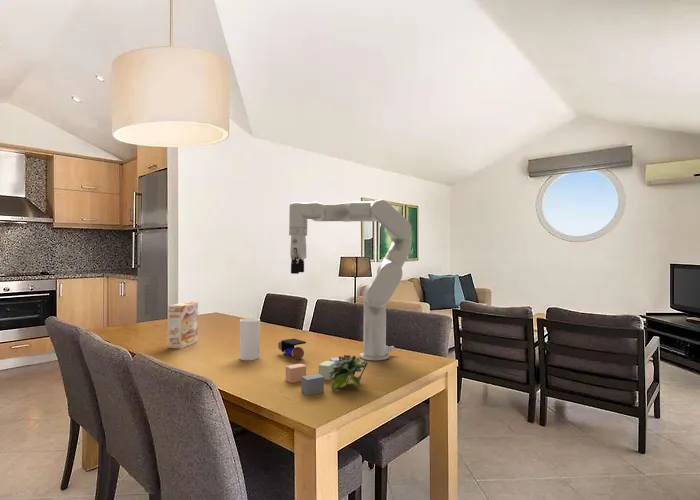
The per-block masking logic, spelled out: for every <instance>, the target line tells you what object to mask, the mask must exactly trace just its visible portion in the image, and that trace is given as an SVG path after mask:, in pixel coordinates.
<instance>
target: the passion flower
mask: <svg viewBox="0 0 700 500" xmlns="http://www.w3.org/2000/svg"><path fill="white" fill-rule="evenodd" d="M338 357H339V361H340V362H338V364H336V366H334V367H333V371H331V372H329V374H331V375H330V378H331V377H332V376H333V375H335V376H334V377H333V378H331V379H333V382H331V386H330V387H331V391H334V390H336V389H337V388H339V389H342V388H344V387H345V386H347V385H348V384H349V383H350V382H351V381H352V382H353V383H354V384H355V385H356V386H357V388H356V389H357V390H356V391H359V387H361V379H362V376H363V374H364V371H365V370H366V368H367V366H368V360H365V359H362V361H361V360H360V357H357V356H356V355H352V356H351V355H350V354H349V355H347V354H343V356H338ZM341 359H342V360H341ZM362 368H363V369H362ZM356 372H357V373H360V372H361V373H360V375H359V376H355V375H356Z"/></svg>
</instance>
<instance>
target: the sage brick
mask: <svg viewBox="0 0 700 500" xmlns="http://www.w3.org/2000/svg"><path fill="white" fill-rule="evenodd" d="M334 366H336V362H332V361H330V360H324V361H323V362H321V363H320V364H318V374H319V375H321V376H323V377H324V381H330V380H331V379H333V378H334V376H335V375H333V376H332V377H331V378H330V375H331V374H329V372H331V371H333V367H334Z"/></svg>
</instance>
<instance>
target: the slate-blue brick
mask: <svg viewBox="0 0 700 500" xmlns="http://www.w3.org/2000/svg"><path fill="white" fill-rule="evenodd" d="M341 360H342V359H341ZM329 361H332V362H336V364H338V362H340V361H339V356H338V357H330V360H329Z"/></svg>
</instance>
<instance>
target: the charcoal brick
mask: <svg viewBox="0 0 700 500" xmlns="http://www.w3.org/2000/svg"><path fill="white" fill-rule="evenodd" d="M300 387H301V390H300V391H301V393H302V394H304V395H306V396H310V395H311V396H312V395H315V394H316V395H317V394H321V393H324V392H325V380H324V377H323V376H321V375H319V373H315V374H309V375H306V376H302V381H301V386H300Z"/></svg>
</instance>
